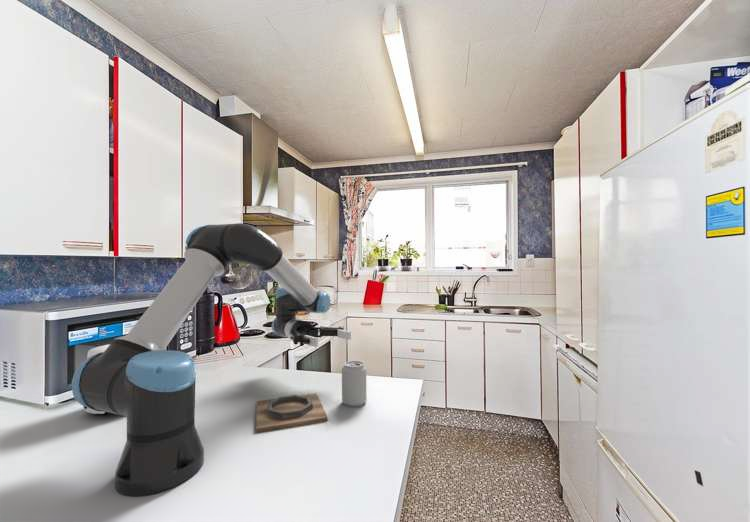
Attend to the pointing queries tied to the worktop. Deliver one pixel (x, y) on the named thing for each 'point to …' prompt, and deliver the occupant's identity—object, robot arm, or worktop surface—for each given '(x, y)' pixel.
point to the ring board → (289, 412)
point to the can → (354, 383)
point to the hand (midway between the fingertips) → (334, 339)
